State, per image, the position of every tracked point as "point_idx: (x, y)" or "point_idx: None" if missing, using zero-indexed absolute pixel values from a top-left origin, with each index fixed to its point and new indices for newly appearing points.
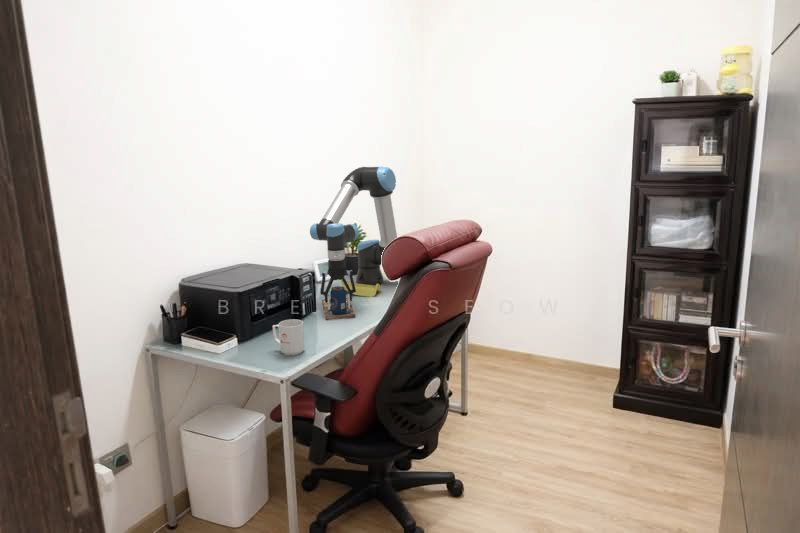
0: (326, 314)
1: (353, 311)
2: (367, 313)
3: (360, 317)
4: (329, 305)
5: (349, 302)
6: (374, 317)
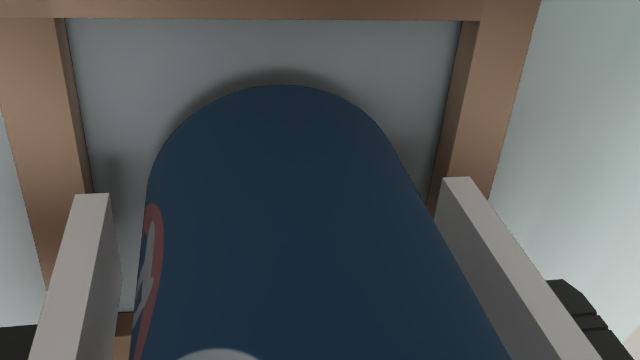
0: None
1: None
2: (616, 224)
3: None
4: (109, 342)
5: None
6: None
